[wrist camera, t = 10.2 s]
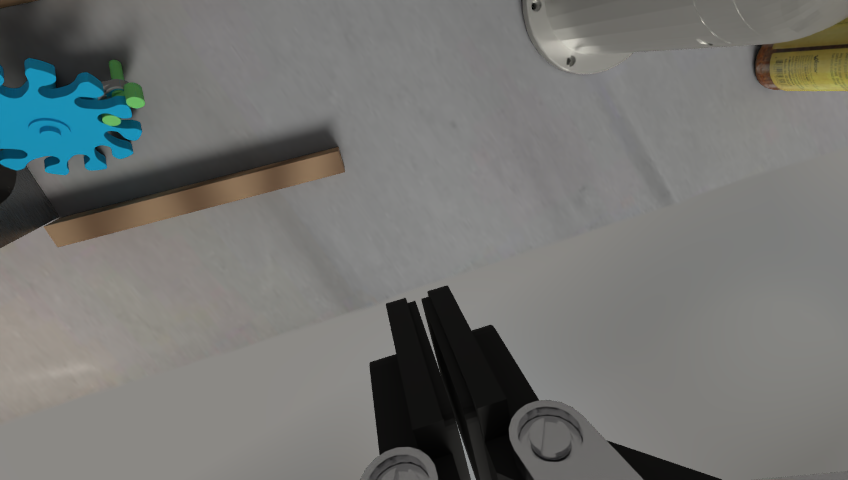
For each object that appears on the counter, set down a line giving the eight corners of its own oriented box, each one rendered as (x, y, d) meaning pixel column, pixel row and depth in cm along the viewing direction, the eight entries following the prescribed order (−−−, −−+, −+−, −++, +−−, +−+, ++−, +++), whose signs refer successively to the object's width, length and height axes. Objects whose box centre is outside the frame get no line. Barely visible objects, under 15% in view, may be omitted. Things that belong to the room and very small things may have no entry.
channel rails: (269, -80, 28) (264, -90, 26) (344, 166, 35) (344, 172, 33) (-90, -10, 25) (-123, -15, 24) (72, 237, 33) (57, 247, 31)
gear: (27, 195, 30) (-135, 102, 20) (23, 134, 32) (-127, 22, 22) (183, 154, 32) (101, 54, 23) (170, 99, 34) (90, -14, 25)
